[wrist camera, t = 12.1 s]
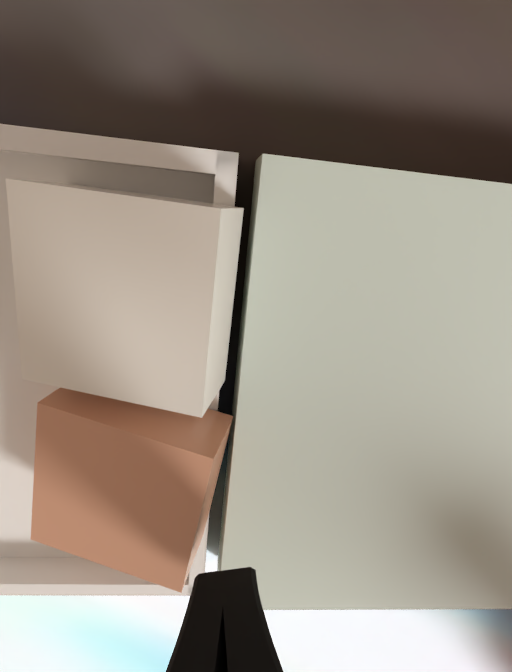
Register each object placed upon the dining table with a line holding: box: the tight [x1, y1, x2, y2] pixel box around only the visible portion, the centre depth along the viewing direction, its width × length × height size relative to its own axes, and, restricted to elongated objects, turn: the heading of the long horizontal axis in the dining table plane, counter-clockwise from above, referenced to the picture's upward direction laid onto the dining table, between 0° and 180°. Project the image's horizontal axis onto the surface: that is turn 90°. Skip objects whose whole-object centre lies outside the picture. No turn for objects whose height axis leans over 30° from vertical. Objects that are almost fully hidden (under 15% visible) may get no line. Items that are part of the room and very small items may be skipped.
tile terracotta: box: [31, 387, 233, 593], centre depth 11 cm, size 4×4×2 cm
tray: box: [0, 124, 239, 596], centre depth 10 cm, size 10×14×4 cm
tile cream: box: [6, 178, 244, 418], centre depth 9 cm, size 4×4×2 cm
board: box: [218, 154, 512, 610], centre depth 13 cm, size 14×14×2 cm
